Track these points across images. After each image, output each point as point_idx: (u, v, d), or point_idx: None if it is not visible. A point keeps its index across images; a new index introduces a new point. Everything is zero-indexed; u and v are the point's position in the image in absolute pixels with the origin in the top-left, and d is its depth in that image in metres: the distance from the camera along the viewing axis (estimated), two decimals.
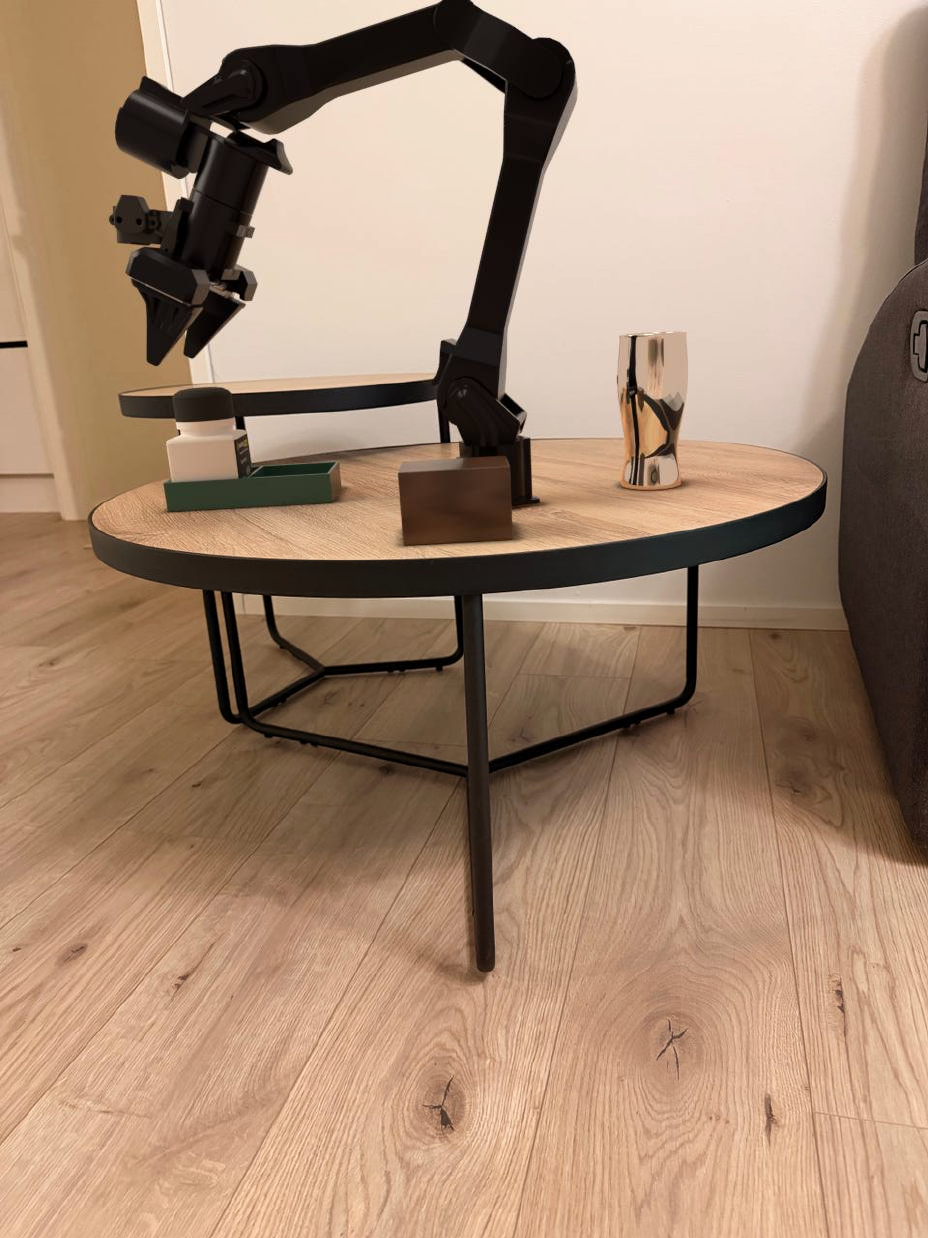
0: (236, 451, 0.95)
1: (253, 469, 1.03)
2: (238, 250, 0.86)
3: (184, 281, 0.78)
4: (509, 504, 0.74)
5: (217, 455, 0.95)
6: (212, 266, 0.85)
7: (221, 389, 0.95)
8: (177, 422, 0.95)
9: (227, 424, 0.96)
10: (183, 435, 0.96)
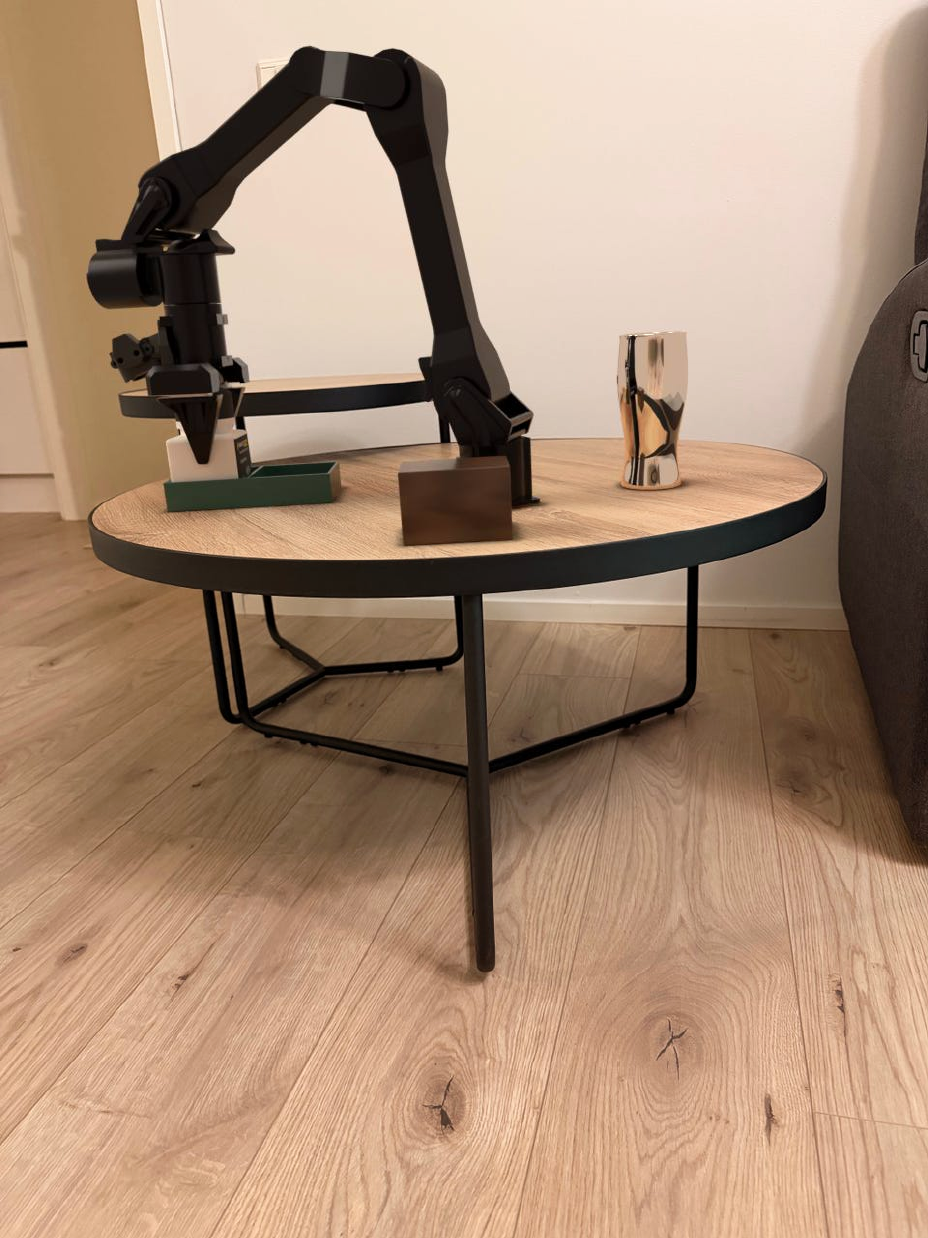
0: (236, 450, 0.95)
1: (253, 469, 1.03)
2: (224, 337, 0.94)
3: (198, 376, 0.87)
4: (509, 504, 0.74)
5: (217, 455, 0.95)
6: (210, 360, 0.93)
7: (221, 389, 0.95)
8: (177, 422, 0.95)
9: (227, 423, 0.96)
10: (183, 434, 0.96)
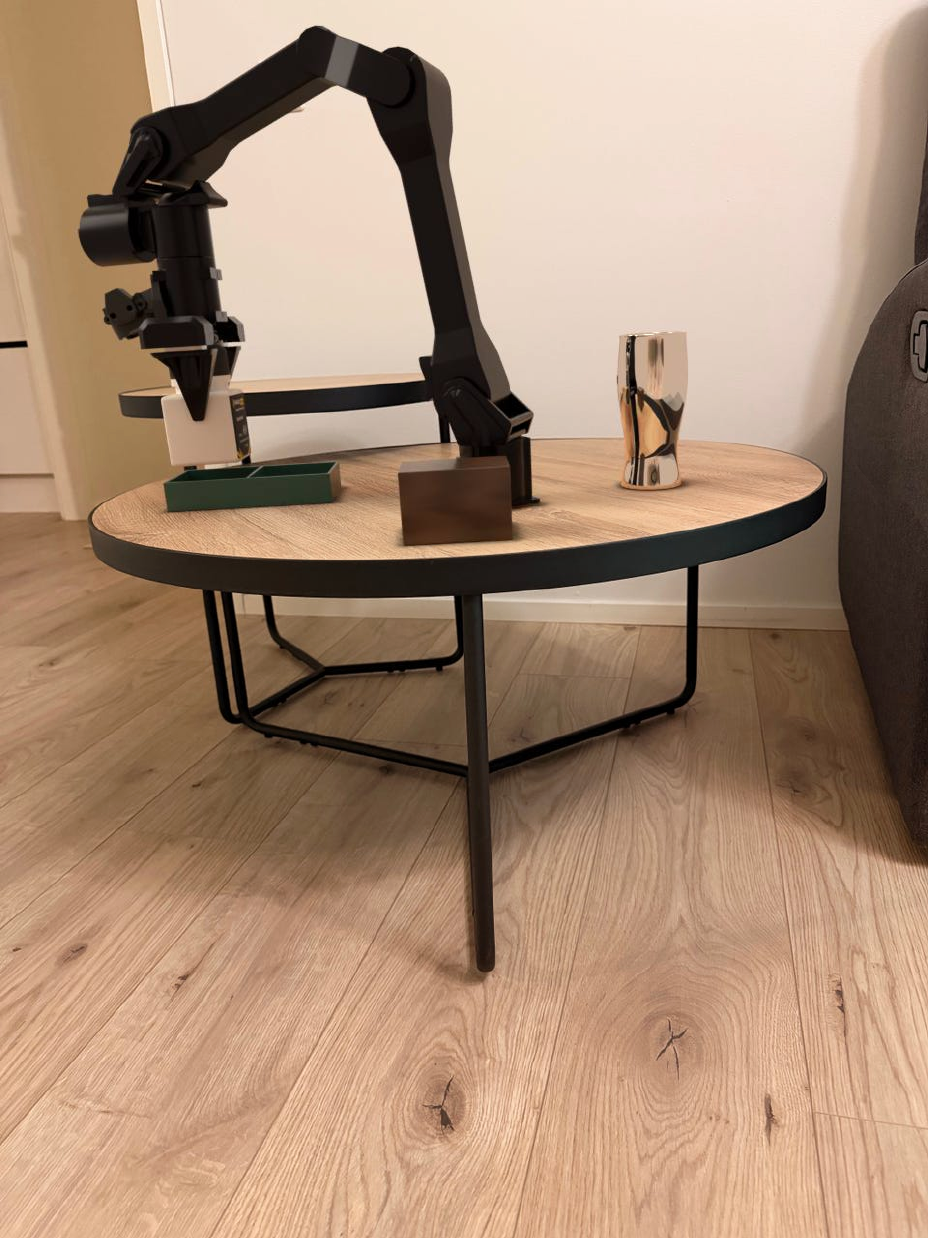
0: (232, 407, 0.94)
1: (253, 469, 1.03)
2: (218, 292, 0.93)
3: (192, 328, 0.85)
4: (509, 504, 0.74)
5: (213, 412, 0.94)
6: (204, 315, 0.92)
7: (216, 345, 0.94)
8: (172, 379, 0.94)
9: (222, 381, 0.95)
10: (178, 392, 0.95)
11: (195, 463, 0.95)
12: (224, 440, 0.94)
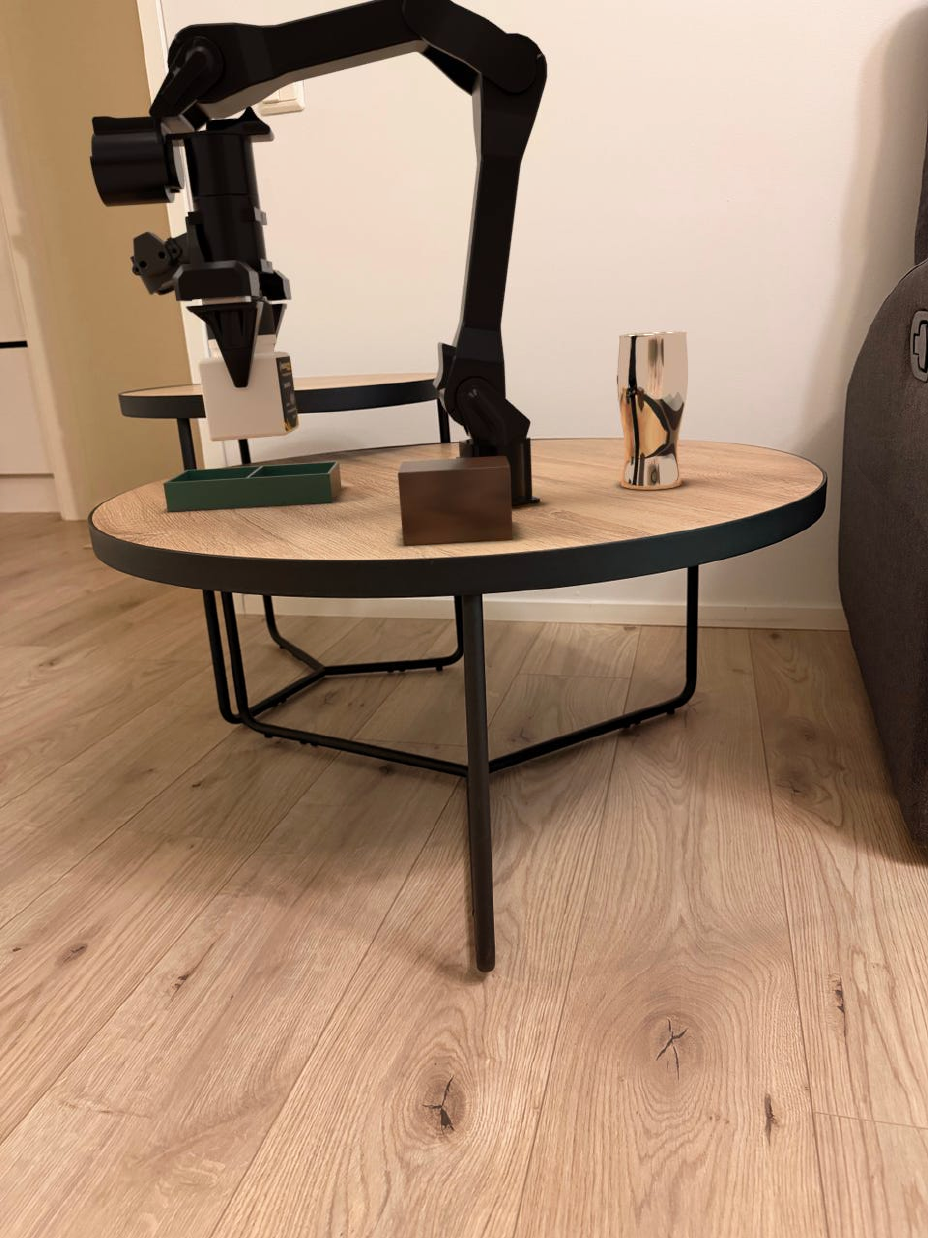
0: (279, 371, 0.81)
1: (253, 469, 1.03)
2: (262, 238, 0.80)
3: (235, 274, 0.73)
4: (509, 504, 0.74)
5: (257, 377, 0.81)
6: (247, 263, 0.79)
7: (260, 300, 0.82)
8: (210, 340, 0.82)
9: (267, 341, 0.82)
10: (217, 355, 0.82)
11: (237, 437, 0.82)
12: (270, 410, 0.82)
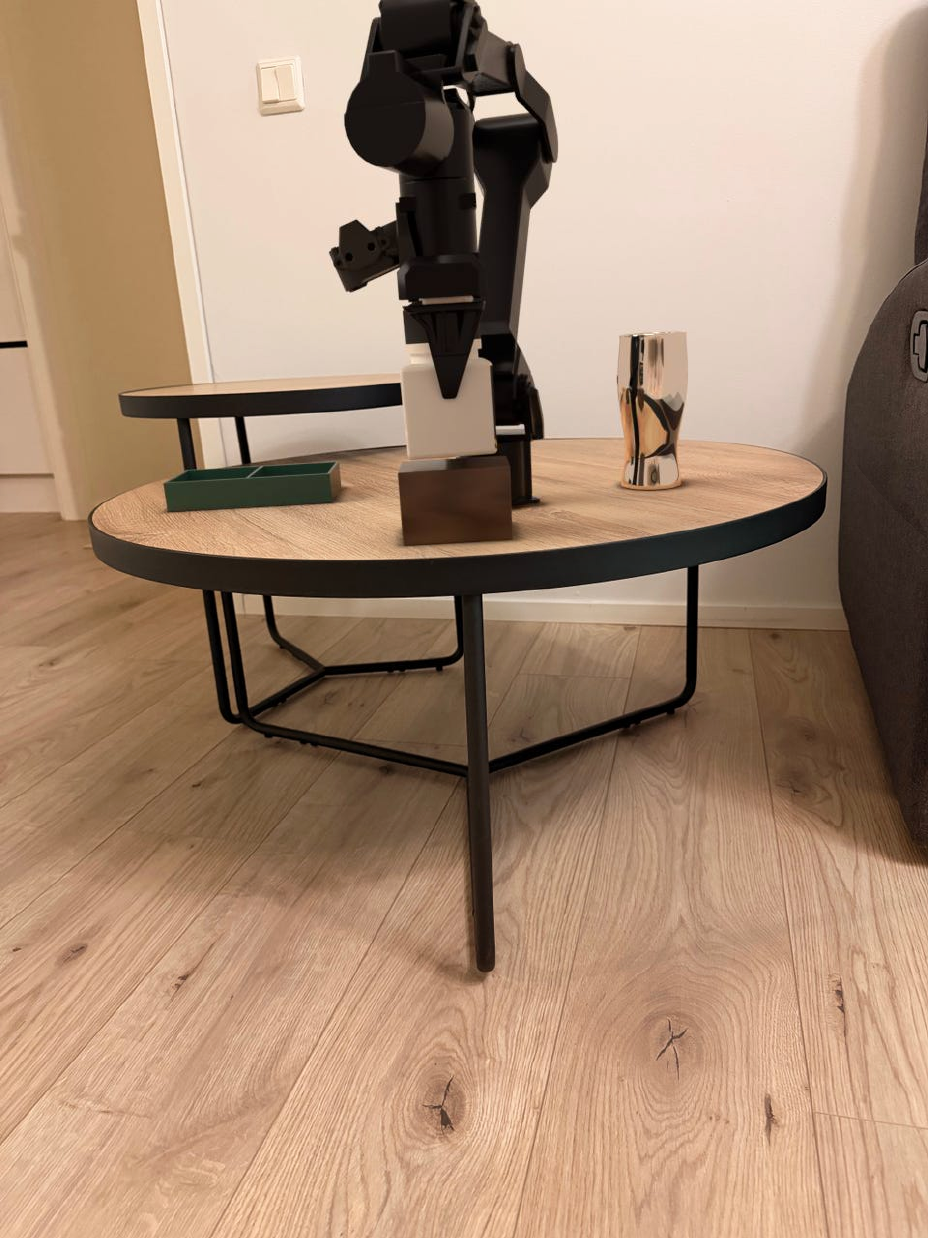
0: (492, 381, 0.71)
1: (253, 469, 1.03)
2: (476, 228, 0.70)
3: (472, 270, 0.63)
4: (509, 504, 0.74)
5: (468, 387, 0.71)
6: None
7: None
8: (411, 344, 0.72)
9: (476, 346, 0.72)
10: (418, 362, 0.72)
11: (439, 455, 0.73)
12: (480, 425, 0.72)
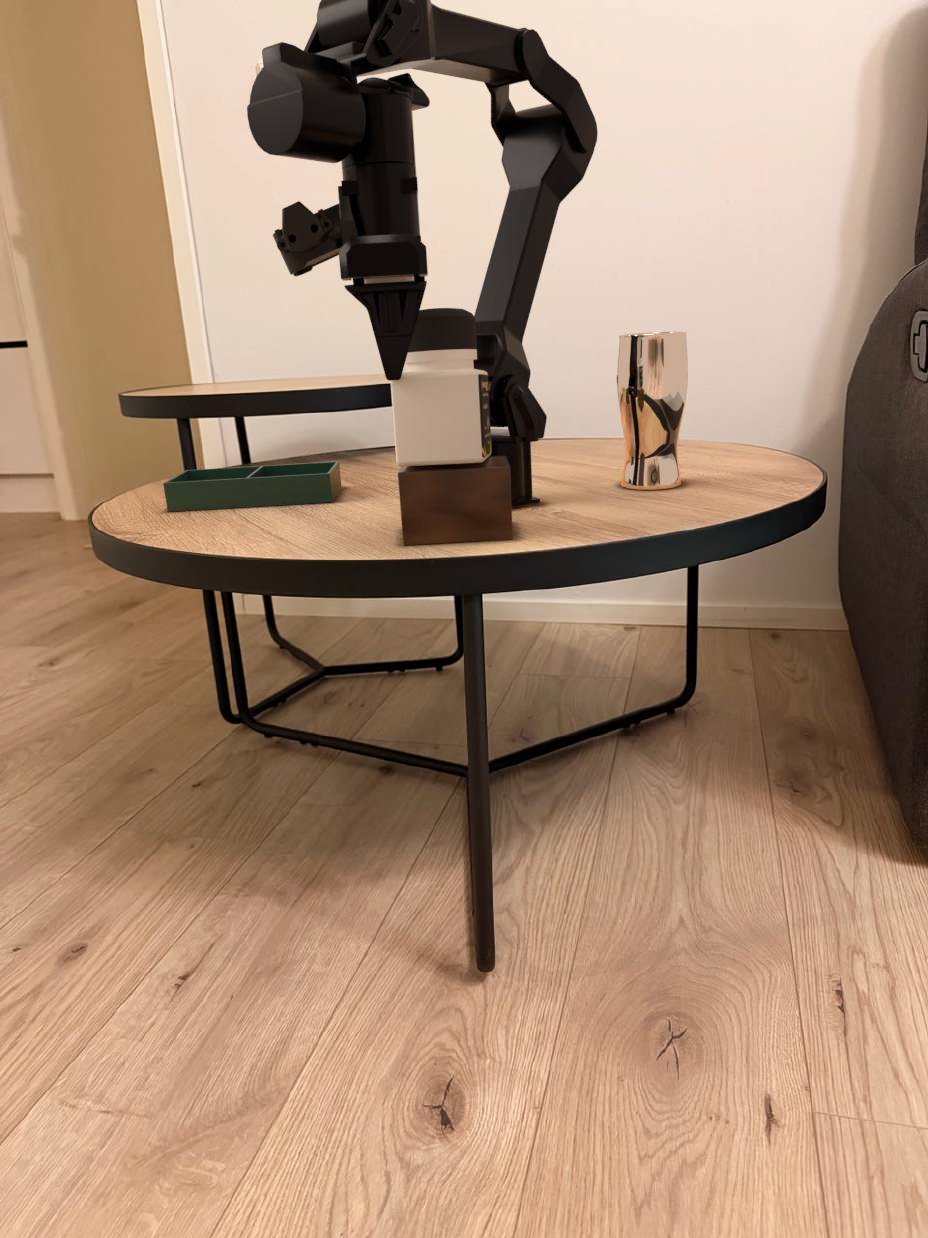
0: (480, 390, 0.71)
1: (253, 469, 1.03)
2: (418, 213, 0.72)
3: (412, 249, 0.64)
4: (509, 504, 0.74)
5: (456, 395, 0.71)
6: None
7: (464, 310, 0.72)
8: None
9: (469, 356, 0.72)
10: (411, 370, 0.73)
11: (427, 462, 0.73)
12: (467, 433, 0.72)
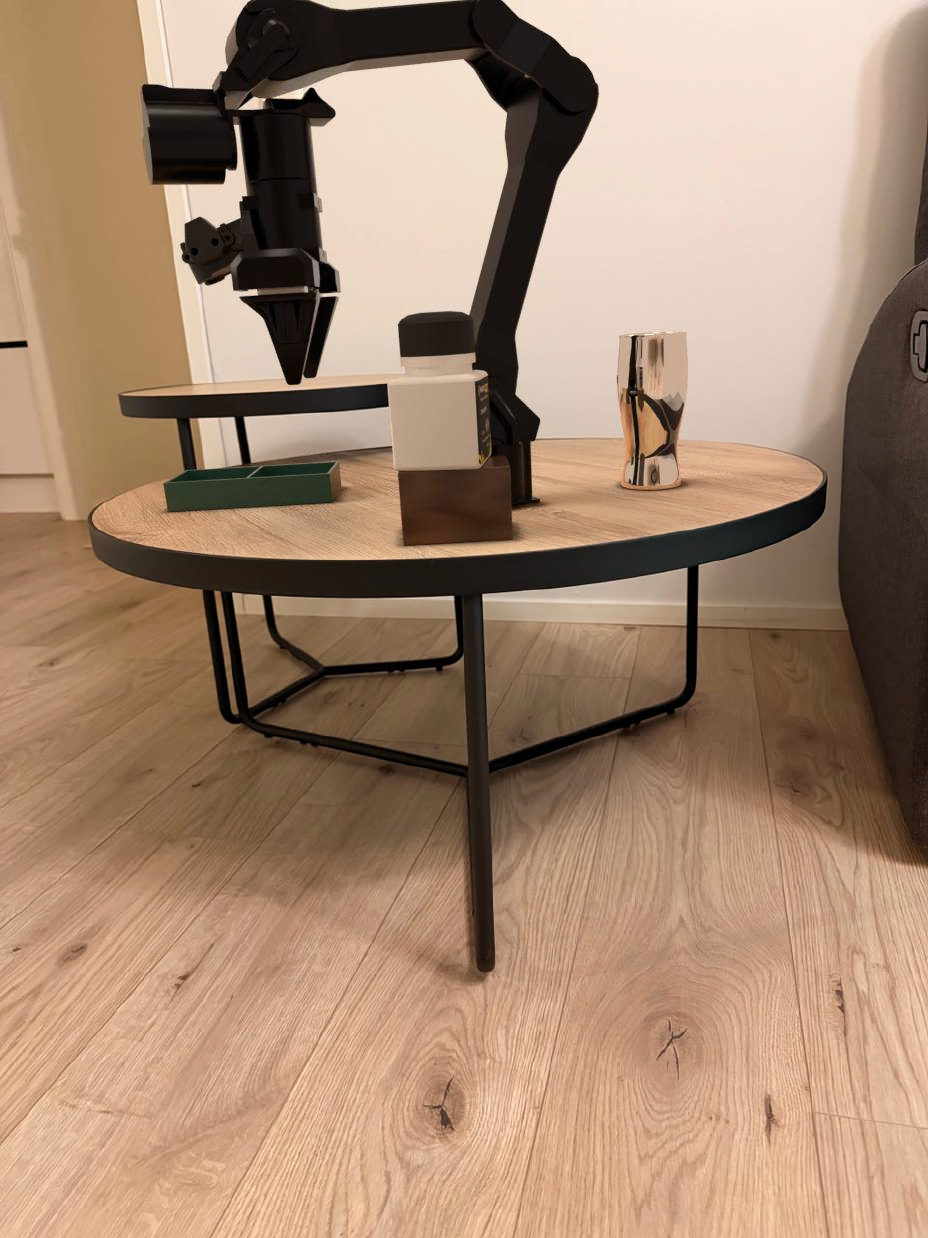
0: (477, 396, 0.71)
1: (253, 469, 1.03)
2: (319, 225, 0.76)
3: (298, 263, 0.68)
4: (509, 504, 0.74)
5: (452, 402, 0.71)
6: (305, 252, 0.74)
7: (461, 313, 0.72)
8: (402, 357, 0.73)
9: (466, 361, 0.72)
10: (409, 375, 0.73)
11: (424, 468, 0.73)
12: (464, 440, 0.72)
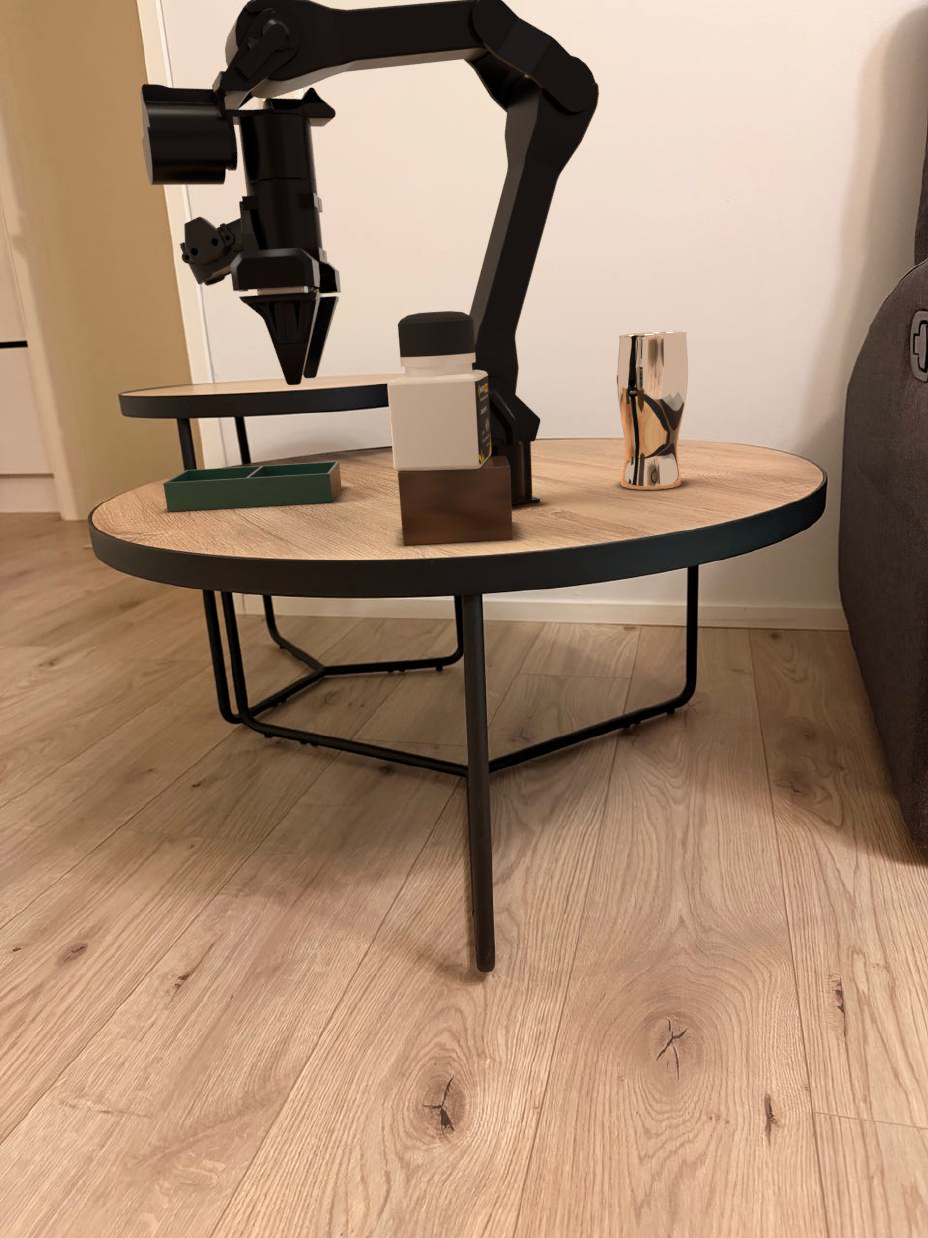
0: (477, 396, 0.71)
1: (253, 469, 1.03)
2: (319, 225, 0.76)
3: (298, 263, 0.68)
4: (509, 504, 0.74)
5: (452, 402, 0.71)
6: (305, 252, 0.74)
7: (461, 313, 0.72)
8: (402, 357, 0.73)
9: (466, 361, 0.72)
10: (409, 375, 0.73)
11: (424, 468, 0.73)
12: (464, 440, 0.72)
